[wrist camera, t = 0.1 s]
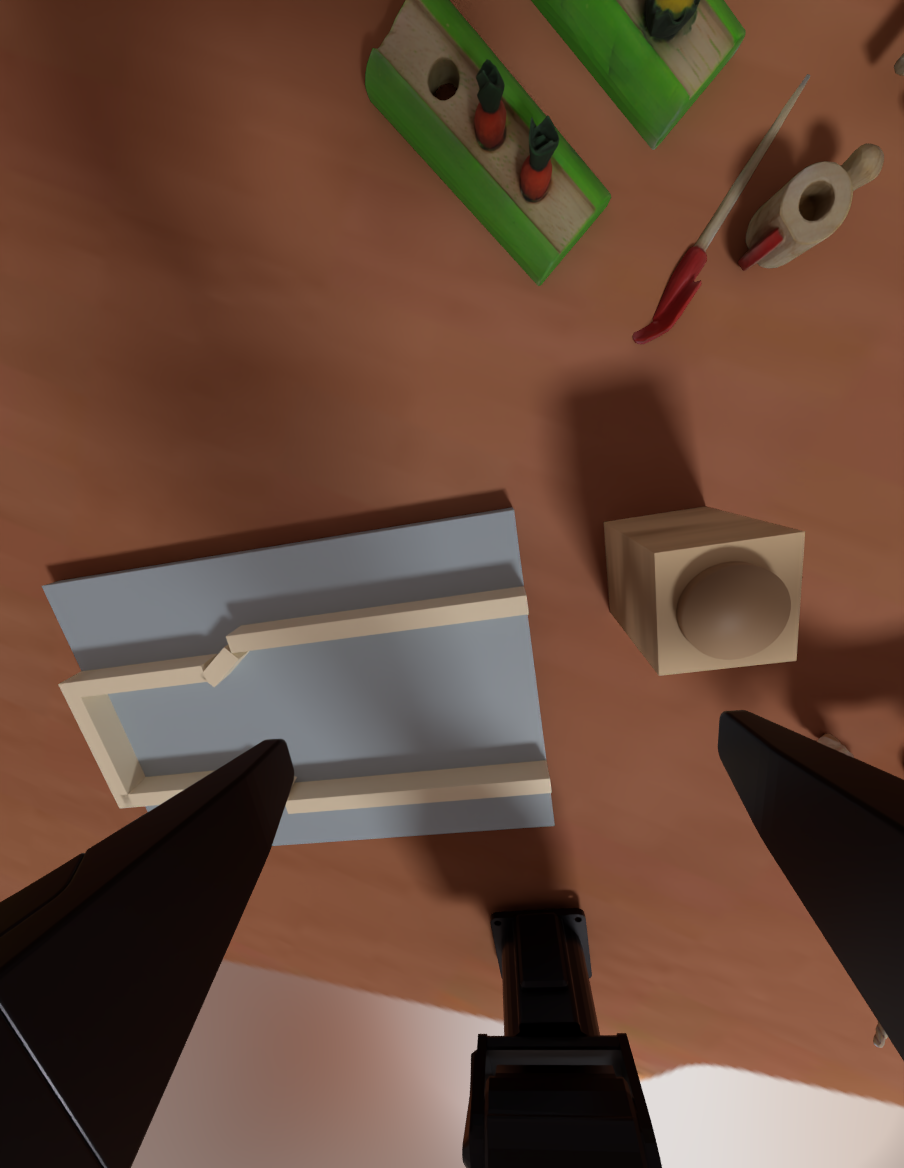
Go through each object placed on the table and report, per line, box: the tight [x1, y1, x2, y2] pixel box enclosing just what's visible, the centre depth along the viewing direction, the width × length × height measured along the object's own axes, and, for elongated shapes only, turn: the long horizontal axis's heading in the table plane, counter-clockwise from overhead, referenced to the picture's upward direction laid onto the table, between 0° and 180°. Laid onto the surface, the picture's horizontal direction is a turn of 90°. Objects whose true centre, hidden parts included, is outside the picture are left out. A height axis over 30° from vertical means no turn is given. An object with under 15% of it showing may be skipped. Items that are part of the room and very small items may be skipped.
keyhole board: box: [42, 507, 555, 846], centre depth 25 cm, size 20×27×2 cm
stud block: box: [604, 506, 805, 676], centre depth 19 cm, size 5×5×8 cm
